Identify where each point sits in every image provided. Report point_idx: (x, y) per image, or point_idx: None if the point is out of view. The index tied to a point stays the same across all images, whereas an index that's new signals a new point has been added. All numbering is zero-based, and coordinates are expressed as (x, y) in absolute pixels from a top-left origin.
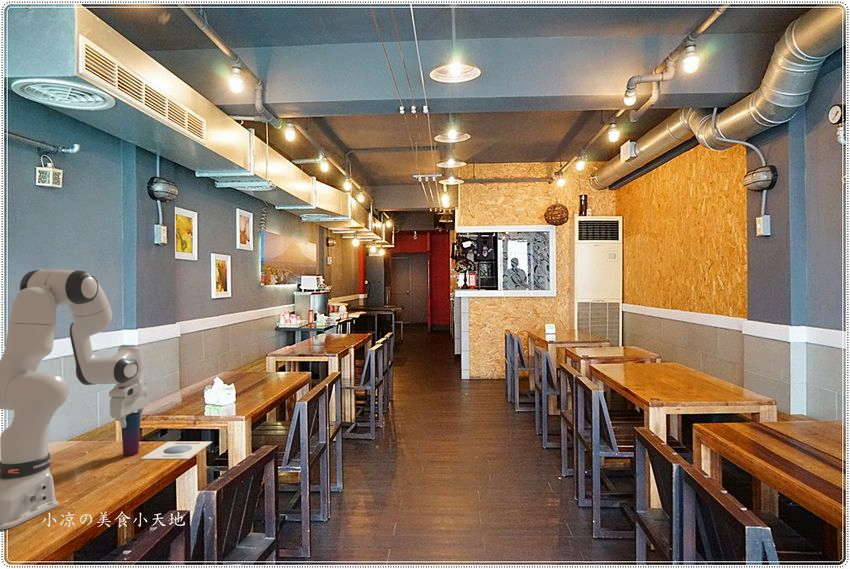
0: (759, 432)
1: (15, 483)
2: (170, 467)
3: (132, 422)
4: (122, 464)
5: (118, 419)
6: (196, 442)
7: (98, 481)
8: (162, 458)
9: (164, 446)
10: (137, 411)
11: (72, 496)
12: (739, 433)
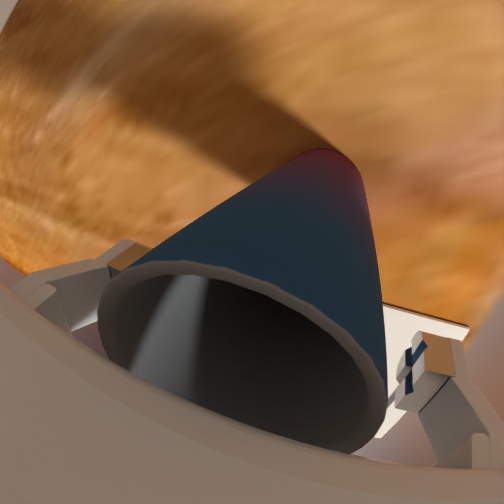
0: None
1: None
2: None
3: (179, 347)
4: (164, 201)
5: (35, 274)
6: (393, 412)
7: (49, 188)
8: None
9: (394, 328)
10: (477, 424)
11: (4, 175)
12: None
